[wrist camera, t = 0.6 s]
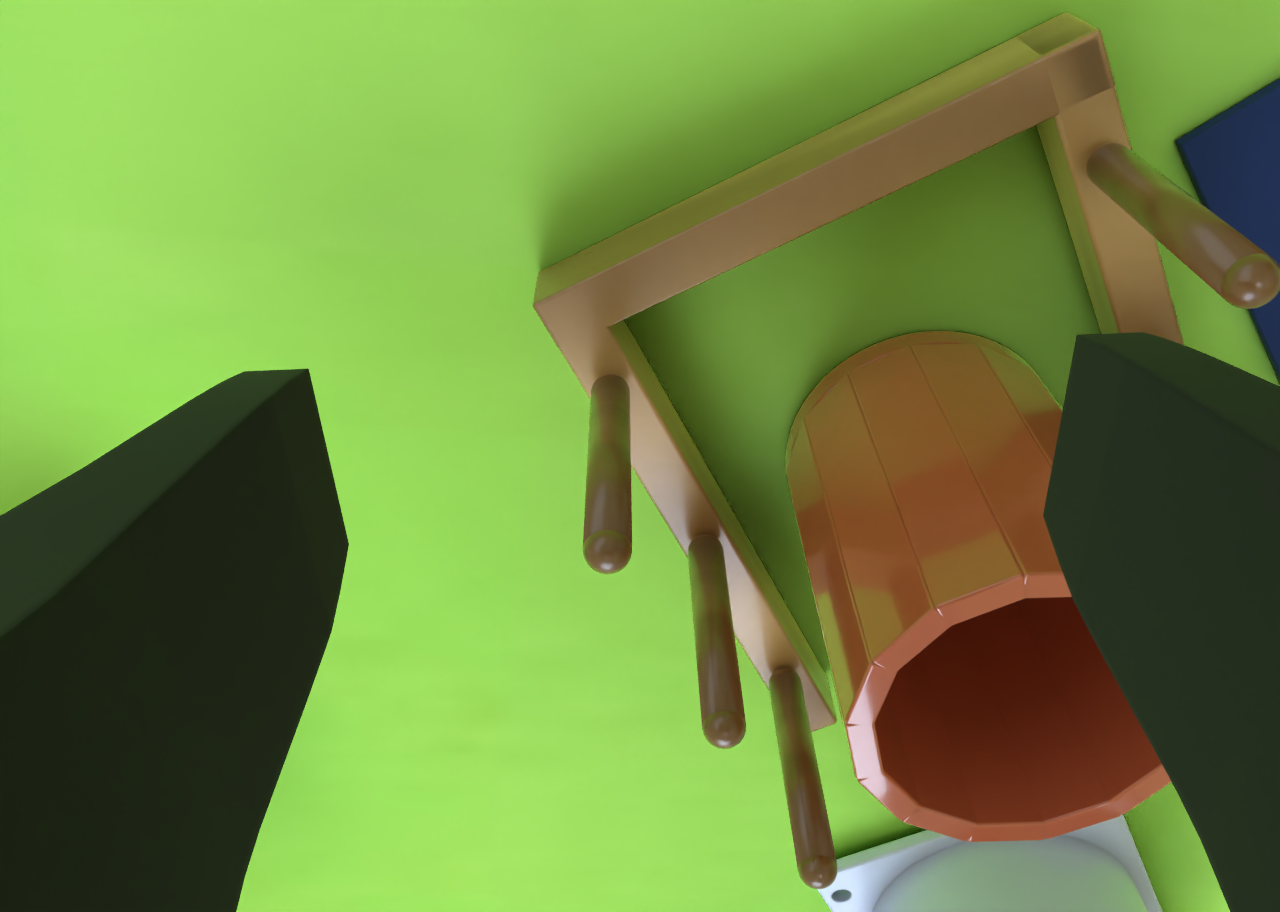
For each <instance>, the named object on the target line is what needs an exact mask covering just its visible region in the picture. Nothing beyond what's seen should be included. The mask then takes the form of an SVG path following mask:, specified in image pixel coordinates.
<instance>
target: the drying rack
mask: <svg viewBox="0 0 1280 912" xmlns="http://www.w3.org/2000/svg"><path fill="white" fill-rule="evenodd" d="M1035 125H1037V129H1038V132H1039V135H1040V138H1041V141H1042V145H1043V148H1044V151H1045V154H1046V157H1047V161H1048V164H1049V167H1050V170H1051V173H1052V177H1053V180H1054V183H1055V186H1056V190H1057V193H1058V196H1059V199H1060V202H1061V206H1062V209H1063V212H1064V215H1065V218H1066V222H1067V225H1068V228H1069V231H1070V234H1071V238H1072V241H1073V244H1074V247H1075V250H1076V254H1077V257H1078V260H1079V263H1080V267H1081V270H1082V273H1083V276H1084V279H1085V283H1086V286H1087V289H1088V292H1089V295H1090V299H1091V302H1092V305H1093V308H1094V311H1095V315H1096V318H1097V321H1098V324H1099V327H1100V331H1101V334H1112V333H1134V332H1144V333H1148V334H1152V335H1155V336H1159V337H1162V338H1165V339H1168V340H1171V341H1174V342H1176V343H1179V344H1182V345H1184V342H1183V339H1182V335H1181V331H1180V327H1179V324H1178V320H1177V316H1176V312H1175V309H1174V305H1173V301H1172V298H1171V294H1170V290H1169V286H1168V283H1167V279H1166V275H1165V271H1164V268H1163V264H1162V260H1161V256H1160V253H1159V249H1158V245H1157V242H1156V239H1157V240H1158V241H1159V242H1160V243H1162V244H1163V245H1164V246H1165V247H1166V248H1167V249H1168V250H1170V251H1171V252H1172V253H1173V254H1174V255H1175V256H1176V257H1177V258H1179V259H1180V260H1181V261H1182V262H1183V263H1184V264H1185V265H1187V266H1188V267H1189V268H1190V269H1191V270H1192V271H1193V272H1194V273H1196V274H1197V275H1198V276H1199V277H1200V278H1201V279H1202V280H1203V281H1205V282H1206V283H1207V284H1208V285H1209V286H1210V287H1211V288H1213V289H1214V290H1215V291H1216V292H1217V293H1218V294H1219V295H1220V296H1222V297H1223V298H1224V299H1225V300H1226V301H1227V302H1229V303H1230V304H1232V305H1234V306H1236V307H1239V308H1244V309H1252V308H1258V307H1261V306H1263V305H1265V304H1267V303H1269V302H1270V301H1271V300H1272V299H1274V298H1275V297H1276V295H1277V294H1278V293H1279V291H1280V265H1279V264H1278V263H1277V261H1276V260H1275V259H1273V258H1272V257H1271V256H1270V255H1268V254H1267V253H1266V252H1264V251H1263V250H1262V249H1260V248H1259V247H1258V246H1256V245H1255V244H1254V243H1252V242H1251V241H1250V240H1248V239H1247V238H1246V237H1244V236H1243V235H1242V234H1241V233H1239V232H1238V231H1237V230H1235V229H1234V228H1233V227H1231V226H1230V225H1229V224H1227V223H1226V222H1225V221H1223V220H1222V219H1221V218H1219V217H1218V216H1217V215H1215V214H1214V213H1213V212H1211V211H1210V210H1209V209H1207V208H1206V207H1205V206H1203V205H1202V204H1201V203H1199V202H1198V201H1197V200H1195V199H1194V198H1193V197H1191V196H1190V195H1189V194H1188V193H1186V192H1185V191H1184V190H1182V189H1181V188H1180V187H1178V186H1177V185H1176V184H1174V183H1173V182H1172V181H1170V180H1169V179H1168V178H1166V177H1165V176H1164V175H1162V174H1161V173H1160V172H1158V171H1157V170H1156V169H1154V168H1153V167H1152V166H1150V165H1149V164H1148V163H1146V162H1145V161H1144V160H1142V159H1141V158H1140V157H1138V156H1137V155H1136V154H1135V153H1133V152H1132V148H1131V145H1130V141H1129V137H1128V133H1127V130H1126V126H1125V122H1124V118H1123V115H1122V111H1121V107H1120V103H1119V100H1118V96H1117V92H1116V89H1115V82H1114V78H1113V75H1112V71H1111V67H1110V63H1109V60H1108V56H1107V52H1106V48H1105V45H1104V41H1103V37H1102V33H1101V31H1100V30H1099V29H1098V28H1096V27H1094V26H1092V25H1091V24H1089V23H1087V22H1085V21H1083V20H1082V19H1080V18H1078V17H1076V16H1074V15H1072V14H1071V13H1069V12H1065V13H1062V14H1060V15H1058V16H1056V17H1054V18H1052V19H1050V20H1048V21H1046V22H1044V23H1042V24H1040V25H1038V26H1036V27H1034V28H1032V29H1030V30H1028V31H1026V32H1024V33H1022V34H1020V35H1018V36H1016V37H1014V38H1012V39H1010V40H1008V41H1006V42H1004V43H1002V44H1000V45H998V46H996V47H994V48H992V49H990V50H988V51H986V52H984V53H981V54H979V55H977V56H975V57H973V58H971V59H969V60H967V61H965V62H963V63H961V64H959V65H957V66H955V67H953V68H951V69H949V70H947V71H945V72H943V73H941V74H939V75H937V76H935V77H933V78H931V79H929V80H927V81H925V82H923V83H921V84H919V85H917V86H915V87H913V88H911V89H909V90H907V91H905V92H902V93H900V94H898V95H896V96H894V97H892V98H890V99H888V100H886V101H884V102H882V103H880V104H878V105H876V106H874V107H872V108H870V109H868V110H866V111H864V112H862V113H860V114H858V115H856V116H854V117H852V118H850V119H848V120H846V121H844V122H842V123H840V124H838V125H836V126H834V127H832V128H830V129H828V130H826V131H823V132H821V133H819V134H817V135H815V136H813V137H811V138H809V139H807V140H805V141H803V142H801V143H799V144H797V145H795V146H793V147H791V148H789V149H787V150H785V151H783V152H781V153H779V154H777V155H775V156H773V157H771V158H769V159H767V160H765V161H763V162H761V163H759V164H757V165H755V166H753V167H751V168H749V169H747V170H745V171H742V172H740V173H738V174H736V175H734V176H732V177H730V178H728V179H726V180H724V181H722V182H720V183H718V184H716V185H714V186H712V187H710V188H708V189H706V190H704V191H702V192H700V193H698V194H696V195H694V196H692V197H690V198H688V199H686V200H684V201H682V202H680V203H678V204H676V205H674V206H672V207H670V208H668V209H666V210H663V211H661V212H659V213H657V214H655V215H653V216H651V217H649V218H647V219H645V220H643V221H641V222H639V223H637V224H635V225H633V226H631V227H629V228H627V229H625V230H623V231H621V232H619V233H617V234H615V235H613V236H611V237H609V238H607V239H605V240H603V241H601V242H599V243H597V244H595V245H593V246H591V247H589V248H587V249H584V250H582V251H580V252H578V253H576V254H574V255H572V256H570V257H568V258H566V259H564V260H562V261H560V262H558V263H556V264H554V265H552V266H550V267H548V268H546V269H544V270H542V271H540V272H539V273H538V277H537V283H536V289H535V295H534V301H533V307H534V309H535V311H536V312H537V314H538V316H539V317H540V319H541V320H542V322H543V324H544V325H545V327H546V329H547V330H548V332H549V333H550V335H551V337H552V338H553V340H554V342H555V343H556V345H557V347H558V348H559V349H560V351H561V352H562V354H563V356H564V357H565V359H566V361H567V362H568V364H569V365H570V367H571V369H572V370H573V372H574V374H575V375H576V377H577V379H578V380H579V382H580V383H581V385H582V387H583V388H584V390H585V392H586V393H587V395H588V396H589V398H590V419H589V439H588V459H587V479H586V499H585V519H584V539H583V554H584V558H585V560H586V562H587V564H588V565H589V566H590V567H591V568H592V569H593V570H595V571H596V572H599V573H602V574H613V573H616V572H618V571H620V570H622V569H623V568H624V567H625V566H626V565H627V564H628V562H629V560H630V558H631V554H632V513H631V467H632V468H633V470H634V471H635V473H636V475H637V476H638V478H639V480H640V481H641V483H642V484H643V486H644V488H645V489H646V491H647V493H648V494H649V496H650V498H651V499H652V501H653V502H654V504H655V506H656V507H657V509H658V511H659V512H660V514H661V515H662V517H663V519H664V520H665V522H666V524H667V525H668V527H669V529H670V530H671V532H672V533H673V535H674V537H675V538H676V540H677V542H678V543H679V545H680V546H681V548H682V550H683V551H684V553H685V555H686V556H687V558H688V562H689V574H690V586H691V598H692V610H693V622H694V634H695V646H696V658H697V670H698V682H699V694H700V705H701V717H702V729H703V733H704V735H705V737H706V739H707V740H708V742H709V743H710V744H712V745H713V746H715V747H717V748H721V749H728V748H732V747H734V746H736V745H737V744H739V743H740V742H741V740H742V739H743V737H744V735H745V731H746V722H745V714H744V706H743V698H742V691H741V683H740V675H739V667H738V660H737V652H736V644H735V636H736V638H737V639H738V641H739V643H740V644H741V646H742V648H743V649H744V651H745V652H746V654H747V656H748V657H749V659H750V661H751V662H752V664H753V665H754V667H755V669H756V670H757V672H758V674H759V675H760V677H761V678H762V680H763V682H764V683H765V685H766V687H767V688H768V690H769V692H770V697H771V703H772V710H773V716H774V722H775V729H776V735H777V741H778V747H779V754H780V760H781V766H782V772H783V779H784V785H785V791H786V798H787V804H788V810H789V816H790V823H791V829H792V835H793V841H794V848H795V854H796V860H797V867H798V872H799V875H800V877H801V879H802V881H803V882H804V883H805V884H806V885H808V886H809V887H811V888H814V889H824V888H827V887H828V886H830V885H831V884H832V883H833V882H834V881H835V879H836V876H837V871H838V868H837V861H836V856H835V851H834V846H833V841H832V836H831V831H830V826H829V820H828V815H827V810H826V805H825V800H824V795H823V790H822V785H821V780H820V774H819V769H818V764H817V759H816V754H815V749H814V744H813V739H812V734H811V732H813V731H816V730H818V729H821V728H824V727H827V726H830V725H832V724H835V723H836V722H837V718H836V714H835V710H834V705H833V701H832V696H831V692H830V687H829V683H828V678H827V676H826V674H825V672H824V670H823V669H822V667H821V665H820V663H819V662H818V660H817V658H816V656H815V655H814V653H813V651H812V649H811V648H810V646H809V644H808V642H807V641H806V639H805V637H804V635H803V634H802V632H801V630H800V628H799V627H798V625H797V623H796V621H795V619H794V618H793V616H792V614H791V612H790V611H789V609H788V607H787V605H786V604H785V602H784V600H783V598H782V597H781V595H780V593H779V591H778V590H777V588H776V586H775V584H774V583H773V581H772V579H771V577H770V576H769V574H768V572H767V570H766V568H765V567H764V565H763V563H762V561H761V560H760V558H759V556H758V554H757V553H756V551H755V549H754V547H753V546H752V544H751V542H750V540H749V539H748V537H747V535H746V533H745V532H744V530H743V528H742V526H741V524H740V523H739V521H738V519H737V517H736V516H735V514H734V512H733V510H732V509H731V507H730V505H729V503H728V502H727V500H726V498H725V496H724V495H723V493H722V491H721V489H720V488H719V486H718V484H717V482H716V481H715V479H714V477H713V475H712V473H711V472H710V470H709V468H708V466H707V465H706V463H705V461H704V459H703V458H702V456H701V454H700V452H699V451H698V449H697V447H696V445H695V444H694V442H693V440H692V438H691V437H690V435H689V433H688V431H687V430H686V428H685V426H684V424H683V422H682V421H681V419H680V417H679V415H678V414H677V412H676V410H675V408H674V407H673V405H672V403H671V401H670V400H669V398H668V396H667V394H666V393H665V391H664V389H663V387H662V386H661V384H660V382H659V380H658V379H657V377H656V375H655V373H654V371H653V370H652V368H651V366H650V364H649V363H648V361H647V359H646V357H645V356H644V354H643V352H642V350H641V349H640V347H639V345H638V343H637V342H636V340H635V338H634V336H633V335H632V333H631V331H630V329H629V328H628V326H627V324H626V322H625V320H624V319H626V318H629V317H631V316H633V315H635V314H637V313H639V312H641V311H643V310H645V309H648V308H650V307H652V306H654V305H656V304H658V303H660V302H662V301H665V300H667V299H669V298H671V297H673V296H675V295H677V294H679V293H681V292H684V291H686V290H688V289H690V288H692V287H694V286H696V285H698V284H701V283H703V282H705V281H707V280H709V279H711V278H713V277H715V276H717V275H720V274H722V273H724V272H726V271H728V270H730V269H732V268H734V267H737V266H739V265H741V264H743V263H745V262H747V261H749V260H751V259H753V258H756V257H758V256H760V255H762V254H764V253H766V252H768V251H770V250H773V249H775V248H777V247H779V246H781V245H783V244H785V243H787V242H789V241H792V240H794V239H796V238H798V237H800V236H802V235H804V234H806V233H809V232H811V231H813V230H815V229H817V228H819V227H821V226H823V225H825V224H828V223H830V222H832V221H834V220H836V219H838V218H840V217H842V216H845V215H847V214H849V213H851V212H853V211H855V210H857V209H859V208H861V207H864V206H866V205H868V204H870V203H872V202H874V201H876V200H878V199H881V198H883V197H885V196H887V195H889V194H891V193H893V192H895V191H897V190H900V189H902V188H904V187H906V186H908V185H910V184H912V183H914V182H917V181H919V180H921V179H923V178H925V177H927V176H929V175H931V174H933V173H936V172H938V171H940V170H942V169H944V168H946V167H948V166H950V165H953V164H955V163H957V162H959V161H961V160H963V159H965V158H967V157H969V156H972V155H974V154H976V153H978V152H980V151H982V150H984V149H986V148H988V147H991V146H993V145H995V144H997V143H999V142H1001V141H1003V140H1005V139H1008V138H1010V137H1012V136H1014V135H1016V134H1018V133H1020V132H1022V131H1024V130H1027V129H1029V128H1031V127H1033V126H1035ZM734 634H735V636H734Z"/></svg>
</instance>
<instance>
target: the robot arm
mask: <svg viewBox="0 0 1280 912" xmlns="http://www.w3.org/2000/svg"><path fill="white" fill-rule="evenodd" d="M1043 517H1044V520H1045V523H1046V526H1047V529H1048V532H1049V535H1050V538H1051V541H1052V544H1053V547H1054V550H1055V553H1056V556H1057V558H1058V561H1059V564H1060V567H1061V569H1062V572H1063V575H1064V577H1065V580H1066V583H1067V585H1068V588H1069V591H1070V593H1071V596H1072V599H1073V601H1074V603H1075V605H1076V607H1077V609H1078V611H1079V613H1080V615H1081V616H1082V618H1083V620H1084V622H1085V624H1086V626H1087V628H1088V630H1089V632H1090V633H1091V635H1092V637H1093V639H1094V641H1095V643H1096V645H1097V647H1098V648H1099V650H1100V652H1101V654H1102V656H1103V658H1104V660H1105V661H1106V663H1107V665H1108V667H1109V669H1110V671H1111V673H1112V674H1113V676H1114V678H1115V680H1116V682H1117V683H1118V685H1119V687H1120V689H1121V691H1122V692H1123V694H1124V696H1125V698H1126V700H1127V702H1128V703H1129V705H1130V707H1131V709H1132V711H1133V712H1134V714H1135V716H1136V718H1137V720H1138V722H1139V723H1140V725H1141V727H1142V729H1143V731H1144V732H1145V734H1146V736H1147V738H1148V740H1149V742H1150V743H1151V745H1152V747H1153V749H1154V751H1155V752H1156V754H1157V756H1158V758H1159V760H1160V762H1161V763H1162V765H1163V767H1164V769H1165V771H1166V772H1167V774H1168V776H1169V778H1170V780H1171V782H1172V783H1173V785H1174V787H1175V789H1176V791H1177V793H1178V794H1179V796H1180V798H1181V801H1182V803H1183V805H1184V807H1185V809H1186V811H1187V813H1188V815H1189V817H1190V819H1191V821H1192V823H1193V825H1194V827H1195V829H1196V831H1197V833H1198V835H1199V837H1200V839H1201V842H1202V844H1203V846H1204V849H1205V851H1206V853H1207V856H1208V858H1209V861H1210V863H1211V866H1212V868H1213V870H1214V873H1215V875H1216V878H1217V880H1218V883H1219V885H1220V887H1221V890H1222V892H1223V895H1224V897H1225V900H1226V902H1227V904H1228V907H1229V909H1230V912H1280V387H1279V386H1277V385H1275V384H1273V383H1270V382H1268V381H1266V380H1264V379H1261V378H1259V377H1257V376H1255V375H1252V374H1250V373H1248V372H1246V371H1243V370H1241V369H1239V368H1237V367H1234V366H1232V365H1230V364H1228V363H1225V362H1223V361H1221V360H1218V359H1216V358H1214V357H1211V356H1209V355H1207V354H1204V353H1202V352H1199V351H1197V350H1194V349H1192V348H1190V347H1187V346H1184V345H1182V344H1179V343H1176V342H1174V341H1171V340H1168V339H1165V338H1162V337H1159V336H1155V335H1152V334H1148V333H1144V332H1134V333H1112V334H1089V335H1077V337H1076V342H1075V348H1074V353H1073V358H1072V364H1071V369H1070V374H1069V380H1068V385H1067V390H1066V395H1065V401H1064V406H1063V411H1062V417H1061V422H1060V427H1059V433H1058V438H1057V443H1056V449H1055V454H1054V459H1053V464H1052V470H1051V475H1050V480H1049V486H1048V491H1047V496H1046V502H1045V507H1044V512H1043ZM348 546H349V543H348V539H347V535H346V530H345V526H344V522H343V517H342V513H341V508H340V504H339V500H338V495H337V491H336V487H335V482H334V478H333V474H332V469H331V465H330V461H329V456H328V452H327V447H326V443H325V439H324V434H323V430H322V426H321V421H320V417H319V413H318V408H317V404H316V400H315V395H314V391H313V386H312V382H311V378H310V373H309V369H292V370H269V371H246V372H242V373H240V374H238V375H236V376H233V377H231V378H229V379H227V380H225V381H223V382H221V383H219V384H217V385H216V386H214V387H212V388H210V389H209V390H207V391H205V392H204V393H202V394H200V395H199V396H197V397H195V398H194V399H192V400H190V401H189V402H187V403H185V404H184V405H182V406H181V407H179V408H177V409H176V410H174V411H173V412H171V413H169V414H168V415H166V416H165V417H163V418H162V419H160V420H158V421H157V422H155V423H154V424H152V425H150V426H149V427H147V428H146V429H144V430H143V431H141V432H139V433H138V434H136V435H135V436H133V437H131V438H130V439H128V440H127V441H125V442H123V443H122V444H120V445H119V446H117V447H116V448H114V449H112V450H111V451H109V452H108V453H106V454H104V455H103V456H101V457H100V458H98V459H96V460H95V461H93V462H92V463H90V464H89V465H87V466H85V467H84V468H82V469H80V470H79V471H77V472H75V473H74V474H72V475H70V476H68V477H67V478H65V479H63V480H61V481H60V482H58V483H56V484H55V485H53V486H51V487H49V488H48V489H46V490H44V491H42V492H41V493H39V494H37V495H36V496H34V497H32V498H30V499H29V500H27V501H25V502H24V503H22V504H20V505H18V506H17V507H15V508H13V509H11V510H10V511H8V512H6V513H5V514H3V515H1V516H0V912H236V910H237V906H238V902H239V898H240V894H241V890H242V886H243V882H244V878H245V874H246V871H247V868H248V865H249V862H250V858H251V855H252V852H253V849H254V846H255V843H256V839H257V836H258V833H259V830H260V827H261V824H262V822H263V819H264V816H265V813H266V811H267V808H268V805H269V803H270V800H271V797H272V794H273V792H274V789H275V786H276V784H277V781H278V778H279V775H280V773H281V770H282V767H283V764H284V762H285V759H286V756H287V754H288V751H289V748H290V745H291V743H292V740H293V737H294V735H295V732H296V729H297V726H298V724H299V721H300V718H301V716H302V713H303V710H304V707H305V705H306V702H307V699H308V696H309V694H310V691H311V688H312V685H313V682H314V680H315V677H316V674H317V671H318V668H319V666H320V663H321V660H322V657H323V654H324V651H325V649H326V646H327V643H328V640H329V637H330V634H331V631H332V626H333V622H334V617H335V613H336V608H337V603H338V599H339V594H340V589H341V584H342V578H343V573H344V567H345V562H346V557H347V551H348ZM836 861H837V868H838V871H837V876H836V879H835V881H834V882H833V883H832V884H831V885H830V886H828V887H827V888H824V889H817V890H818V892H819V893H820V895H821V896H822V898H823V899H824V901H825V902H826V904H827V905H828V907H829V908H830V910H831V911H832V912H1163V911H1162V909H1161V907H1160V904H1159V902H1158V899H1157V897H1156V894H1155V892H1154V889H1153V887H1152V884H1151V882H1150V880H1149V877H1148V875H1147V872H1146V870H1145V867H1144V865H1143V862H1142V860H1141V857H1140V855H1139V852H1138V850H1137V848H1136V845H1135V843H1134V840H1133V838H1132V835H1131V833H1130V830H1129V828H1128V825H1127V823H1126V821H1125V818H1124V816H1123V815H1121V816H1120V817H1117V818H1114V819H1111V820H1108V821H1105V822H1102V823H1098V824H1095V825H1092V826H1089V827H1086V828H1083V829H1079V830H1076V831H1073V832H1070V833H1067V834H1064V835H1060V836H1057V837H1054V838H1051V839H1044V840H1039V841H1001V842H969V841H967V842H964V841H961V840H958V839H955V838H952V837H948V836H945V835H942V834H939V833H935V832H932V831H929V830H925V831H922V832H919V833H916V834H912V835H909V836H906V837H903V838H900V839H897V840H894V841H891V842H888V843H885V844H882V845H879V846H876V847H873V848H870V849H867V850H863V851H860V852H857V853H854V854H851V855H848V856H845V857H842V858H839V859H836Z"/></svg>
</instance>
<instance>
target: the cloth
mask: <svg viewBox="0 0 1280 912" xmlns="http://www.w3.org/2000/svg"><path fill="white" fill-rule="evenodd" d="M1175 143H1176V145H1177V148H1178V150H1179V152H1180V155H1181V157H1182V159H1183V161H1184V164H1185V166H1186V168H1187V171H1188V173H1189V175H1190V178H1191V180H1192V182H1193V184H1194V187H1195V189H1196V191H1197V194H1198V196H1199V198H1200V200H1201V203H1202V205H1203V206H1205V207H1206V208H1207V209H1209V210H1210V211H1211V212H1213V213H1214V214H1215V215H1217V216H1218V217H1219V218H1221V219H1222V220H1223V221H1225V222H1226V223H1227V224H1229V225H1230V226H1231V227H1233V228H1234V229H1235V230H1237V231H1238V232H1239V233H1241V234H1242V235H1243V236H1244V237H1246V238H1247V239H1248V240H1250V241H1251V242H1252V243H1254V244H1255V245H1256V246H1258V247H1259V248H1260V249H1262V250H1263V251H1264V252H1266V253H1267V254H1268V255H1270V256H1271V257H1272V258H1273V259H1275V260H1276V261H1277V263H1278V264H1279V265H1280V79H1278V80H1276V81H1275V82H1273V83H1271V84H1269V85H1268V86H1266V87H1264V88H1263V89H1261V90H1259V91H1258V92H1256V93H1254V94H1253V95H1251V96H1249V97H1248V98H1246V99H1244V100H1243V101H1241V102H1239V103H1238V104H1236V105H1234V106H1233V107H1231V108H1229V109H1228V110H1226V111H1224V112H1223V113H1221V114H1219V115H1218V116H1216V117H1214V118H1213V119H1211V120H1209V121H1208V122H1206V123H1204V124H1203V125H1201V126H1199V127H1198V128H1196V129H1194V130H1193V131H1191V132H1189V133H1188V134H1186V135H1184V136H1182V137H1181V138H1179V139H1177V140H1176V141H1175ZM1248 311H1249V313H1250V315H1251V317H1252V320H1253V322H1254V324H1255V327H1256V329H1257V331H1258V333H1259V336H1260V338H1261V340H1262V343H1263V345H1264V347H1265V350H1266V352H1267V354H1268V356H1269V359H1270V361H1271V363H1272V366H1273V368H1274V370H1275V372H1276V375H1277V377H1278V379H1279V382H1280V291H1279V293H1278V294H1277V295H1276V297H1275V298H1274V299H1272V300H1271V301H1270V302H1269V303H1267V304H1265V305H1263V306H1261V307H1258V308H1252V309H1248Z"/></svg>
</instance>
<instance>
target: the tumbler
mask: <svg viewBox="0 0 1280 912" xmlns="http://www.w3.org/2000/svg"><path fill="white" fill-rule="evenodd" d="M1062 411H1063V409H1062V407H1061V406H1060V405H1059V403H1058V402H1057V401H1056V399H1055V398H1054V396H1053V395H1052V394H1051V392H1050V391H1049V389H1048V388H1047V387H1046V385H1045V384H1044V383H1043V381H1042V380H1041V378H1040V377H1039V375H1038V374H1037V372H1036V371H1035V370H1034V369H1033V368H1032V367H1031V366H1030V365H1029V364H1028V363H1027V362H1026V361H1025V360H1024V359H1023V358H1021V357H1020V356H1019V355H1017V354H1016V353H1015V352H1014V351H1012V350H1010V349H1008V348H1007V347H1005V346H1003V345H1001V344H999V343H997V342H995V341H992V340H989V339H987V338H984V337H981V336H977V335H972V334H968V333H963V332H953V331H924V332H917V333H909V334H905V335H901V336H897V337H893V338H890V339H887V340H884V341H882V342H879V343H876V344H874V345H871V346H869V347H867V348H865V349H863V350H861V351H859V352H857V353H856V354H854V355H852V356H851V357H849V358H848V359H846V360H845V361H843V362H842V363H840V364H839V365H838V366H837V367H835V368H834V369H833V370H832V371H831V372H830V373H828V374H827V375H826V376H825V377H824V378H823V379H822V380H821V381H820V382H819V383H818V385H817V386H816V387H815V388H814V389H813V390H812V392H811V393H810V394H809V396H808V397H807V399H806V400H805V401H804V403H803V404H802V406H801V408H800V410H799V412H798V414H797V415H796V417H795V420H794V422H793V425H792V428H791V430H790V433H789V438H788V442H787V447H786V459H785V465H786V477H787V481H788V486H789V490H790V495H791V499H792V504H793V509H794V513H795V518H796V522H797V527H798V531H799V535H800V540H801V544H802V548H803V553H804V557H805V561H806V566H807V570H808V574H809V579H810V583H811V587H812V592H813V596H814V600H815V605H816V609H817V613H818V618H819V622H820V626H821V631H822V635H823V639H824V644H825V648H826V652H827V657H828V661H829V665H830V670H831V674H832V678H833V683H834V687H835V691H836V696H837V700H838V704H839V709H840V713H841V717H842V722H843V726H844V730H845V735H846V739H847V743H848V748H849V752H850V757H851V761H852V765H853V770H854V774H855V777H856V778H857V780H858V782H859V783H860V784H861V785H862V786H863V787H864V788H866V789H867V790H868V791H869V792H870V793H871V794H872V795H873V796H874V797H875V798H876V799H877V800H878V801H879V802H881V803H882V804H883V805H884V806H885V807H886V808H887V809H888V810H889V811H890V812H891V813H892V814H893V815H894V816H896V817H897V818H898V819H899V820H901V821H902V822H904V823H906V824H910V825H913V826H916V827H919V828H923V829H926V830H929V831H932V832H935V833H939V834H942V835H945V836H948V837H952V838H955V839H958V840H961V841H964V842H967V841H969V842H1001V841H1039V840H1044V839H1051V838H1054V837H1057V836H1060V835H1064V834H1067V833H1070V832H1073V831H1076V830H1079V829H1083V828H1086V827H1089V826H1092V825H1095V824H1098V823H1102V822H1105V821H1108V820H1111V819H1114V818H1117V817H1120V816H1121V815H1124V814H1126V813H1127V812H1129V811H1130V810H1132V809H1133V808H1135V807H1136V806H1138V805H1139V804H1141V803H1142V802H1143V801H1145V800H1146V799H1148V798H1149V797H1151V796H1152V795H1154V794H1155V793H1157V792H1158V791H1160V790H1161V789H1163V788H1164V787H1165V786H1167V785H1168V784H1170V783H1171V780H1170V778H1169V776H1168V774H1167V772H1166V771H1165V769H1164V767H1163V765H1162V763H1161V762H1160V760H1159V758H1158V756H1157V754H1156V752H1155V751H1154V749H1153V747H1152V745H1151V743H1150V742H1149V740H1148V738H1147V736H1146V734H1145V732H1144V731H1143V729H1142V727H1141V725H1140V723H1139V722H1138V720H1137V718H1136V716H1135V714H1134V712H1133V711H1132V709H1131V707H1130V705H1129V703H1128V702H1127V700H1126V698H1125V696H1124V694H1123V692H1122V691H1121V689H1120V687H1119V685H1118V683H1117V682H1116V680H1115V678H1114V676H1113V674H1112V673H1111V671H1110V669H1109V667H1108V665H1107V663H1106V661H1105V660H1104V658H1103V656H1102V654H1101V652H1100V650H1099V648H1098V647H1097V645H1096V643H1095V641H1094V639H1093V637H1092V635H1091V633H1090V632H1089V630H1088V628H1087V626H1086V624H1085V622H1084V620H1083V618H1082V616H1081V615H1080V613H1079V611H1078V609H1077V607H1076V605H1075V603H1074V601H1073V599H1072V596H1071V593H1070V591H1069V588H1068V585H1067V583H1066V580H1065V577H1064V575H1063V572H1062V569H1061V567H1060V564H1059V561H1058V558H1057V556H1056V553H1055V550H1054V547H1053V544H1052V541H1051V538H1050V535H1049V532H1048V529H1047V526H1046V523H1045V520H1044V517H1043V512H1044V507H1045V502H1046V496H1047V491H1048V486H1049V480H1050V475H1051V470H1052V464H1053V459H1054V454H1055V449H1056V443H1057V438H1058V433H1059V427H1060V422H1061V417H1062Z"/></svg>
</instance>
